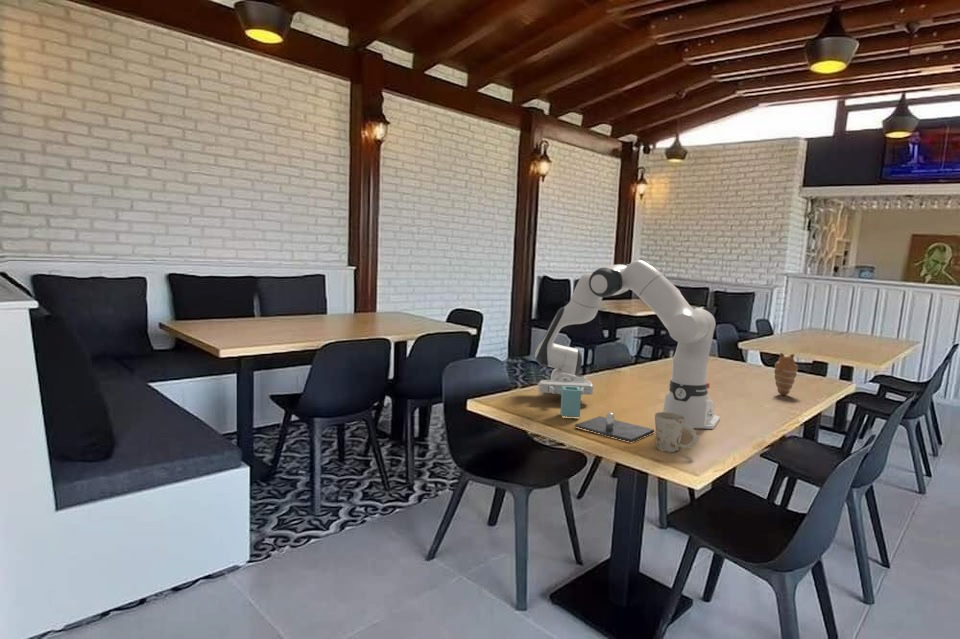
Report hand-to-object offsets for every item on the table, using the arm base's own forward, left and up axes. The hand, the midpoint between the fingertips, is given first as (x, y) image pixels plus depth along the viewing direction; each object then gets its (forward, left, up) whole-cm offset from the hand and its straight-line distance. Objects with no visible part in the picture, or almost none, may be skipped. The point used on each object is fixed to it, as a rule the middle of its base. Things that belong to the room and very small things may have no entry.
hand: (567, 392), depth 213 cm
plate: (+12, +26, -6) cm, 29 cm away
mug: (+16, +48, -6) cm, 51 cm away
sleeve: (+9, +7, -6) cm, 13 cm away
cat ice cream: (-89, +49, -6) cm, 102 cm away
